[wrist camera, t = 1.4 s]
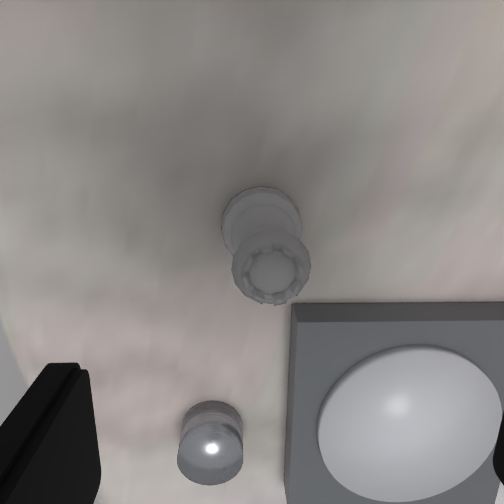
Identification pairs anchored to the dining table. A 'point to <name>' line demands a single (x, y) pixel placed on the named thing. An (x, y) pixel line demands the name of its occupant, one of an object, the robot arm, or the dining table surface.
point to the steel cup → (211, 443)
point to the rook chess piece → (266, 245)
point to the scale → (394, 403)
